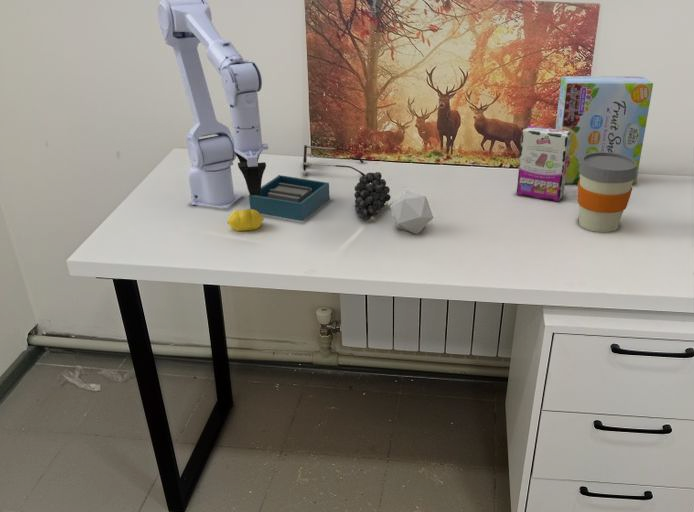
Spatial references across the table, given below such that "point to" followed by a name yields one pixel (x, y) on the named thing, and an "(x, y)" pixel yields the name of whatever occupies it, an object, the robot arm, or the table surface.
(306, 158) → the sunglasses
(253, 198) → the crate
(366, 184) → the fruit
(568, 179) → the snack box
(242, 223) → the lemon
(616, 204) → the reusable coffee cup
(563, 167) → the candy bar box
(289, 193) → the grey block
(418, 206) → the die
